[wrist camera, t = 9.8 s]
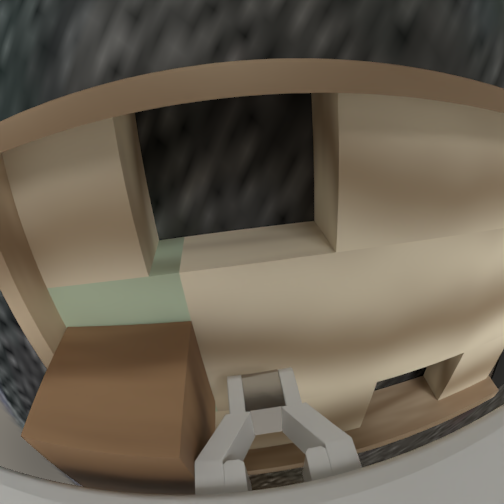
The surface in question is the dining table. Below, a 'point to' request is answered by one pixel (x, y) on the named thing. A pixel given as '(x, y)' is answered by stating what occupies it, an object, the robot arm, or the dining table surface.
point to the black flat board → (499, 371)
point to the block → (125, 408)
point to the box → (281, 242)
